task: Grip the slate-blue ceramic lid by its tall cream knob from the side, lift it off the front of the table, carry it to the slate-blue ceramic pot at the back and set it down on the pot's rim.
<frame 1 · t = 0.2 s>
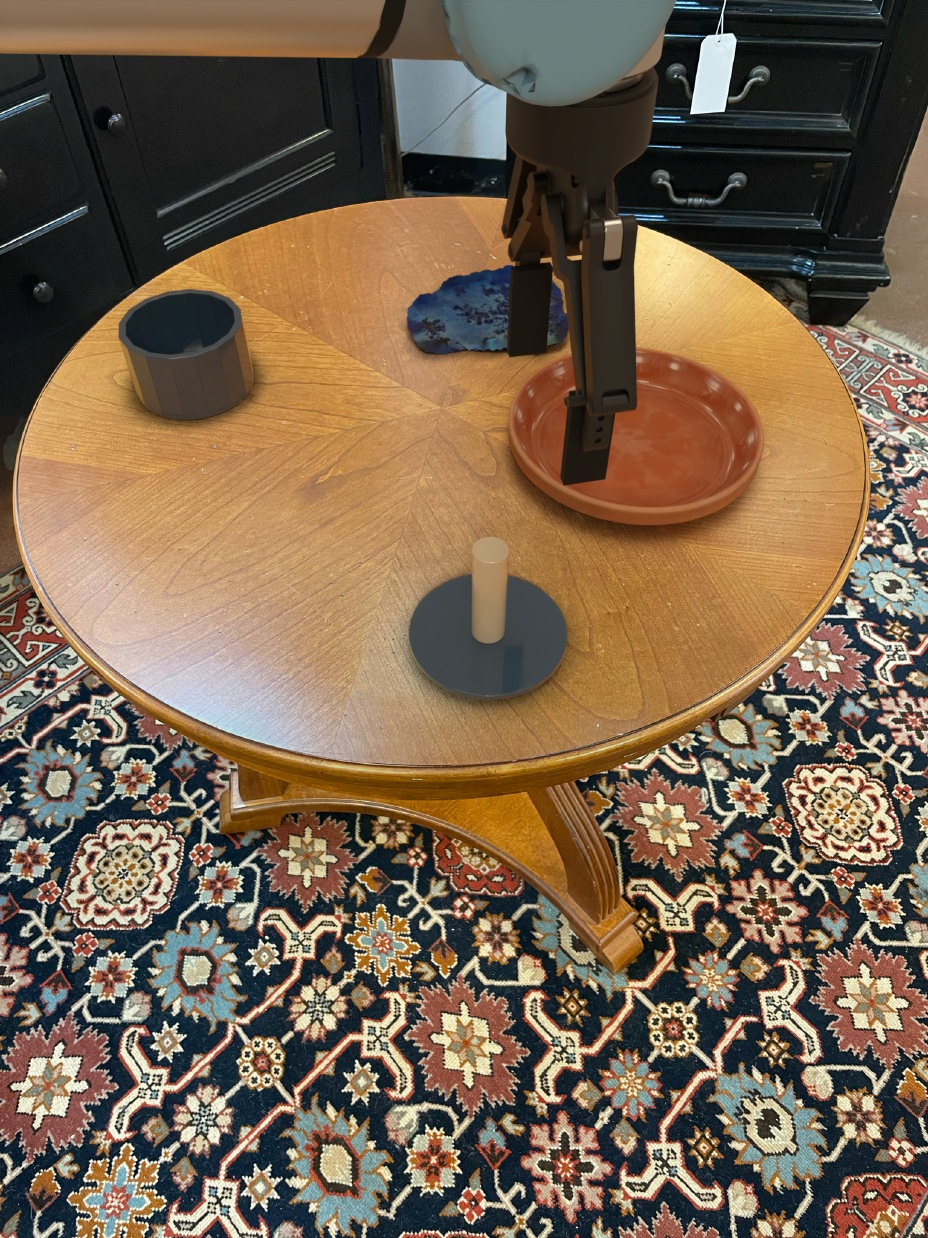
hand: (552, 411, 63), 18 cm above the table, tool pointing down, fingers open, 13 cm apart
pot: (196, 383, 95), on the table
lid: (487, 635, 74), point 1 cm above the table
rock: (487, 320, 103), on the table
saucer: (630, 453, 89), on the table
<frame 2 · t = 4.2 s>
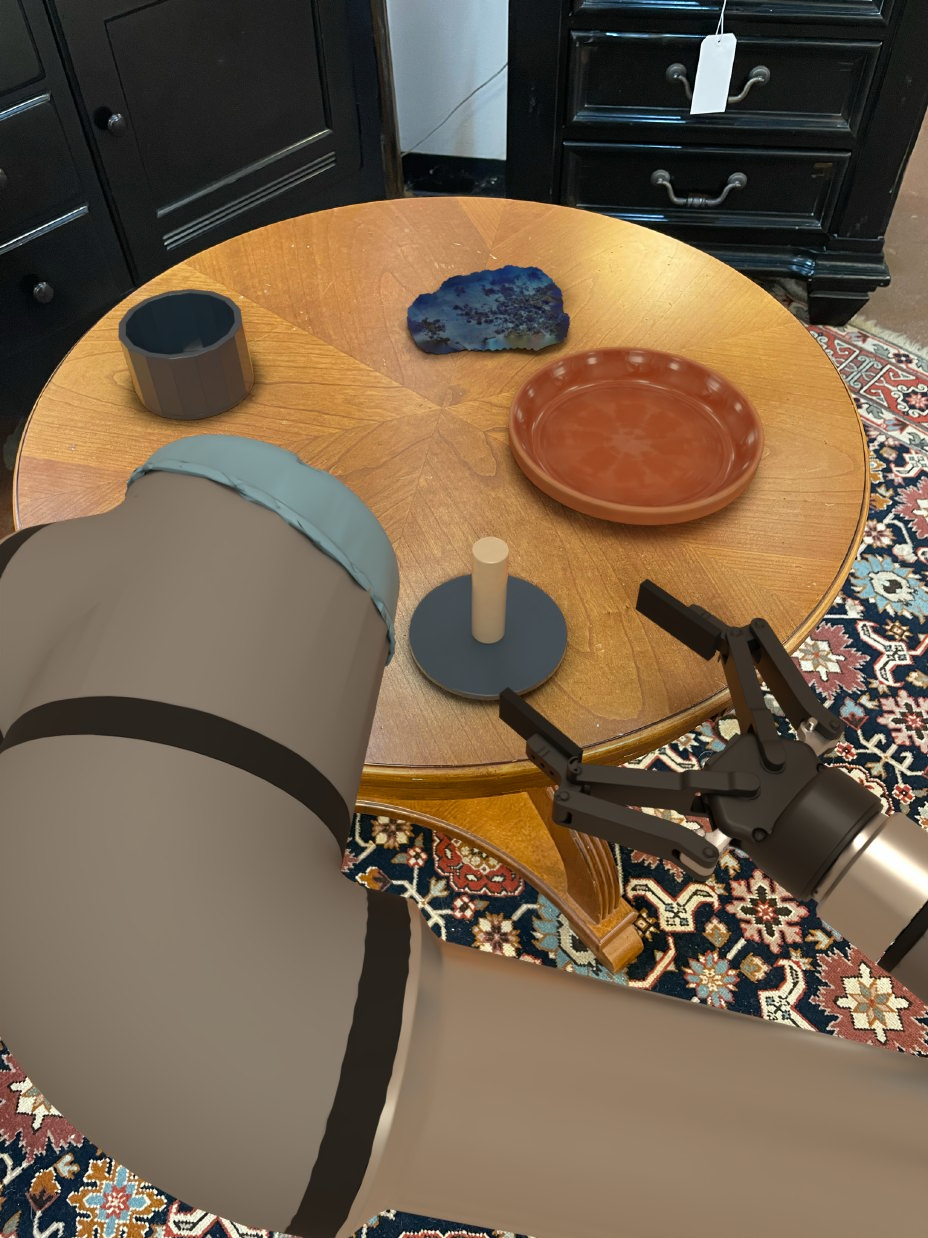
hand: (574, 645, 65), 7 cm above the table, tool horizontal, fingers open, 13 cm apart
nothing on the table moved.
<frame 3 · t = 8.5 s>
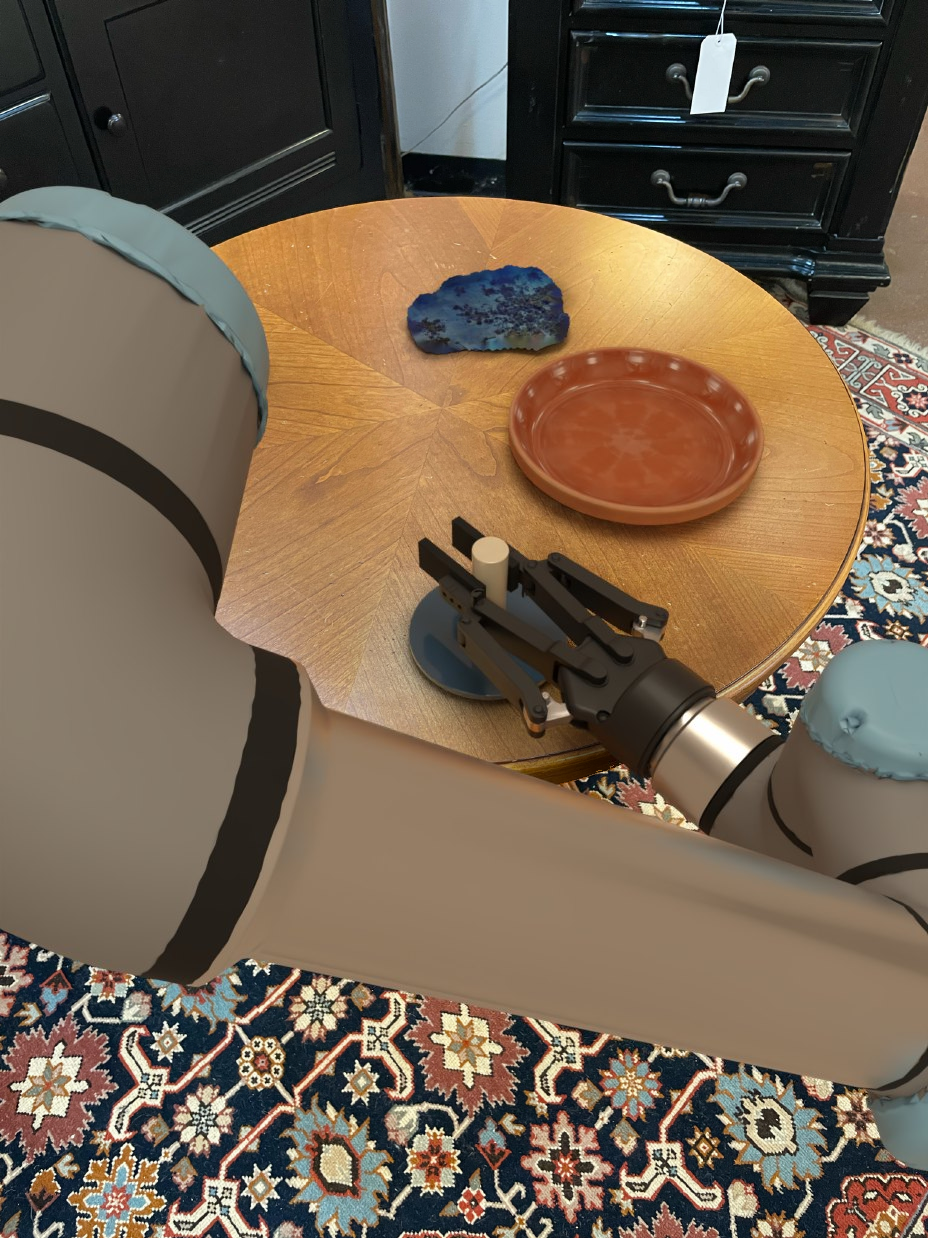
hand: (439, 541, 72), 7 cm above the table, tool horizontal, fingers closed on lid, 3 cm apart
lid: (487, 635, 74), point 1 cm above the table, touching gripper
everything else where it was.
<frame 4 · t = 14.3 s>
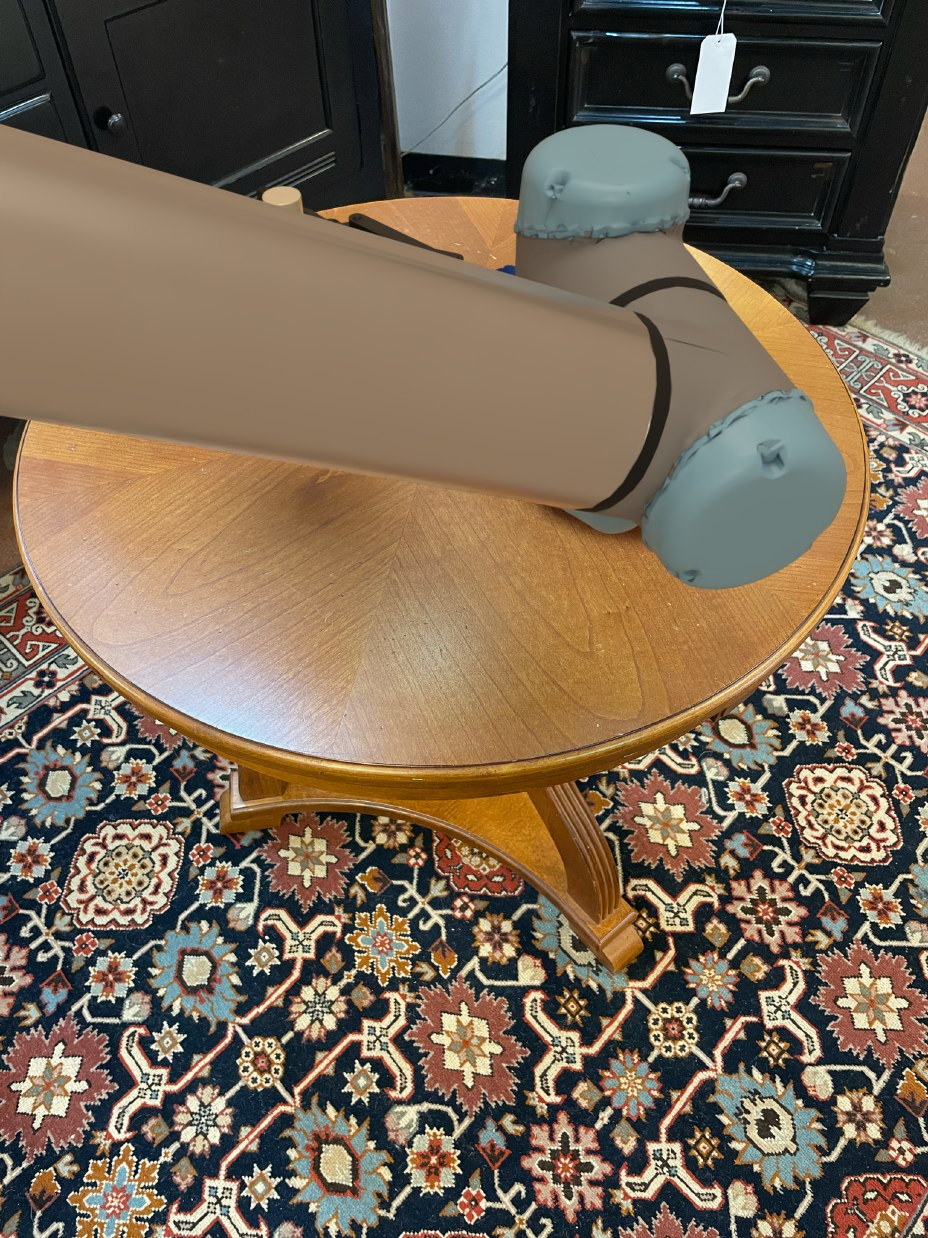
hand: (244, 213, 69), 24 cm above the table, tool horizontal, fingers closed on lid, 3 cm apart
lid: (300, 321, 71), point 18 cm above the table, touching gripper
everything else where it was.
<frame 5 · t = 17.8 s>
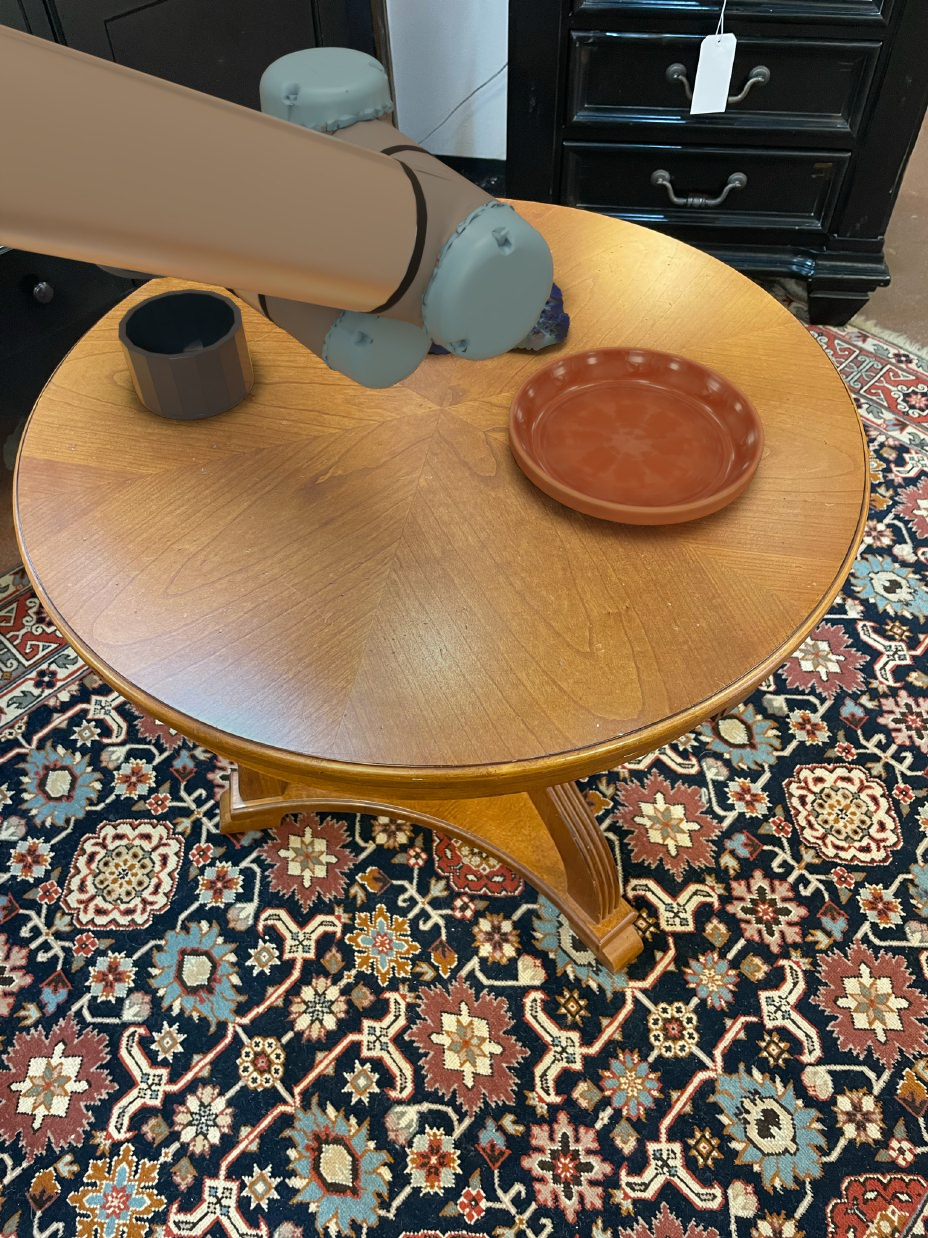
hand: (109, 148, 81), 21 cm above the table, tool horizontal, fingers closed on lid, 3 cm apart
lid: (161, 241, 84), point 15 cm above the table, touching gripper
everything else where it was.
when the fingers open (13 cm above the table, at t = 20.2 s): lid stays where it is, resting on pot.
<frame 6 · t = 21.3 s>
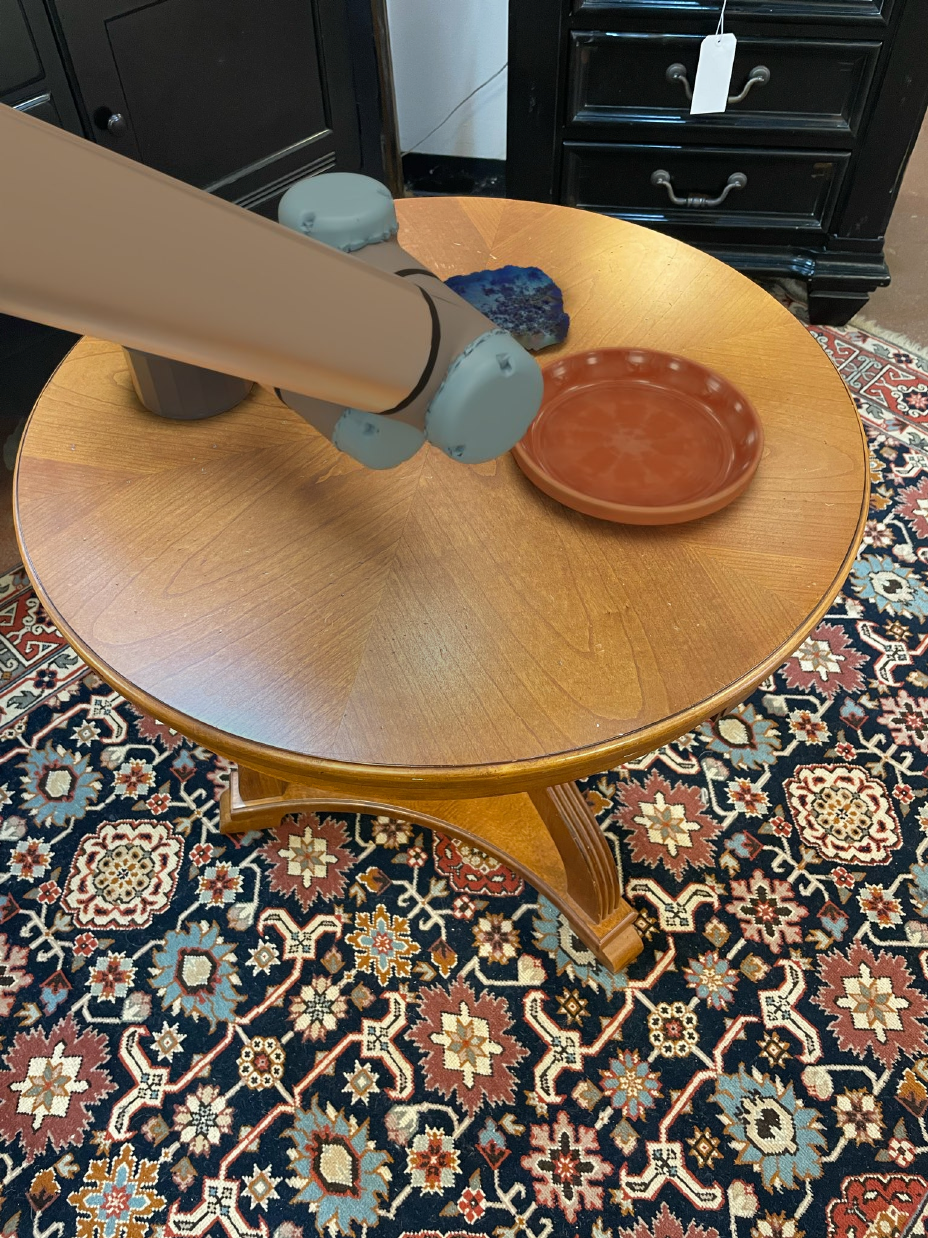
hand: (143, 239, 86), 14 cm above the table, tool horizontal, fingers open, 13 cm apart
lid: (180, 322, 90), point 7 cm above the table, touching pot
everything else where it was.
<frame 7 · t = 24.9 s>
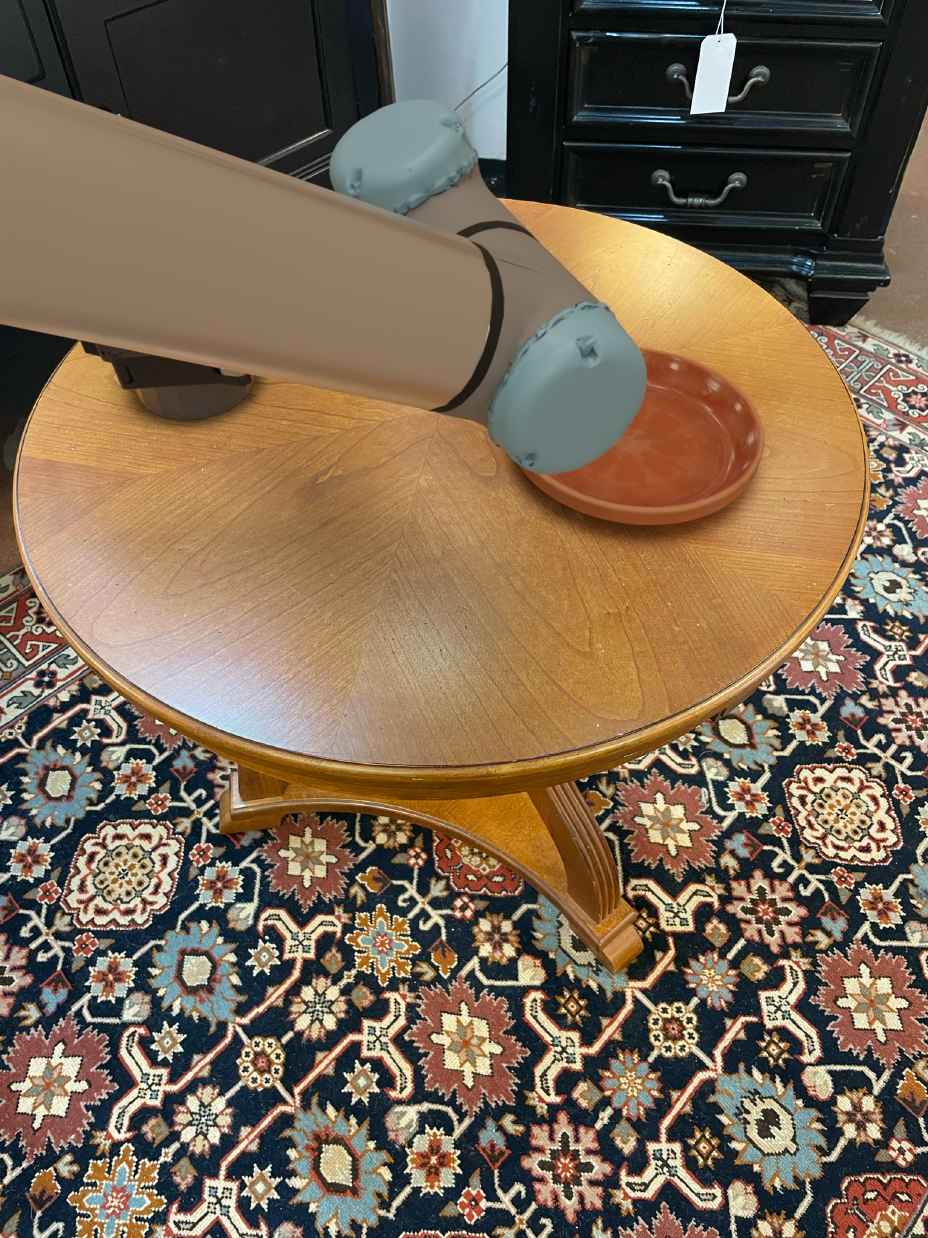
hand: (147, 293, 75), 17 cm above the table, tool horizontal, fingers open, 13 cm apart
nothing on the table moved.
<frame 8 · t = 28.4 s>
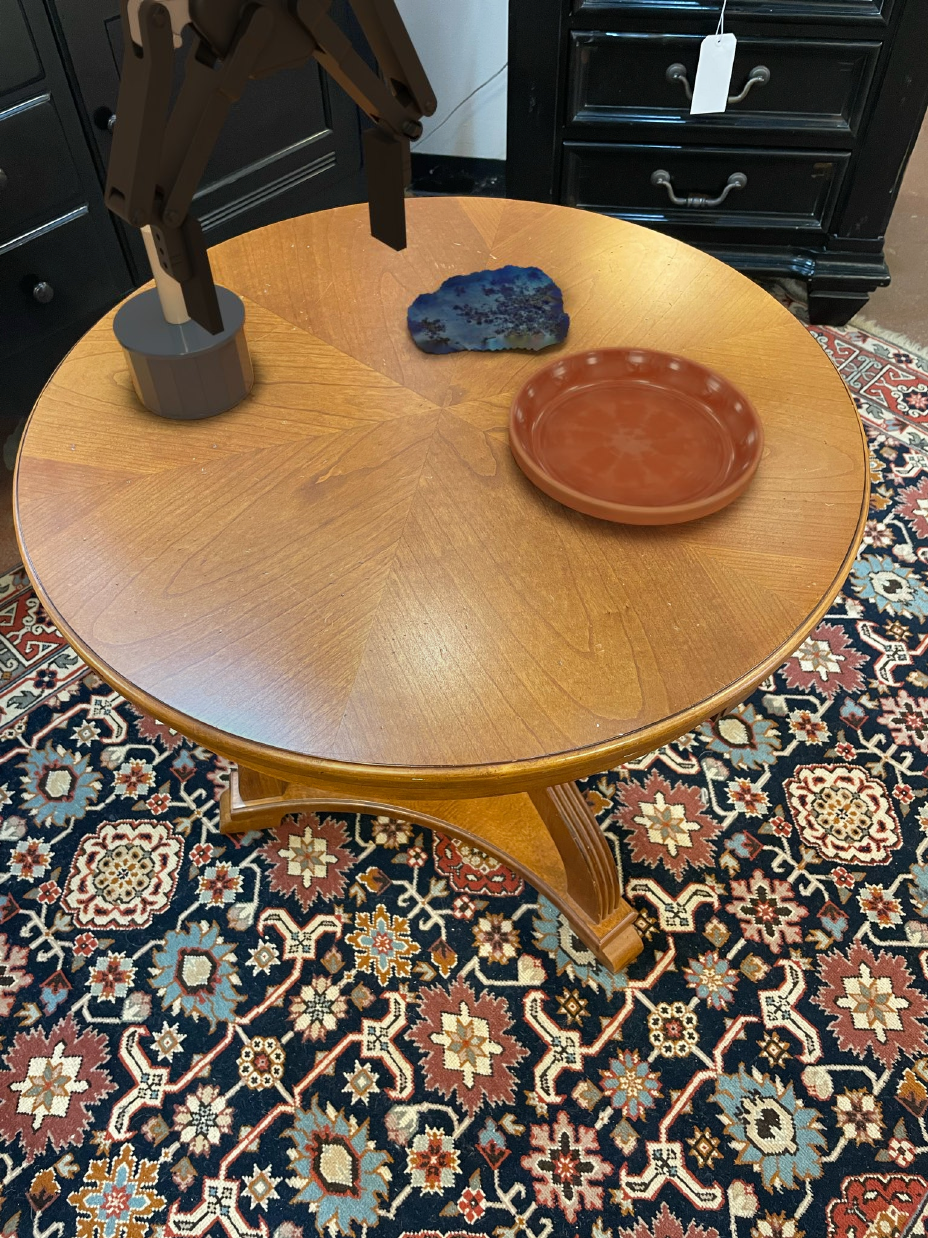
hand: (302, 280, 58), 27 cm above the table, tool pointing down, fingers open, 13 cm apart
nothing on the table moved.
at the end: lid 0.0 cm off-centre on the pot, point 7.0 cm above the pot's base; lid tilted 0°; the gripper is holding nothing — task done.
